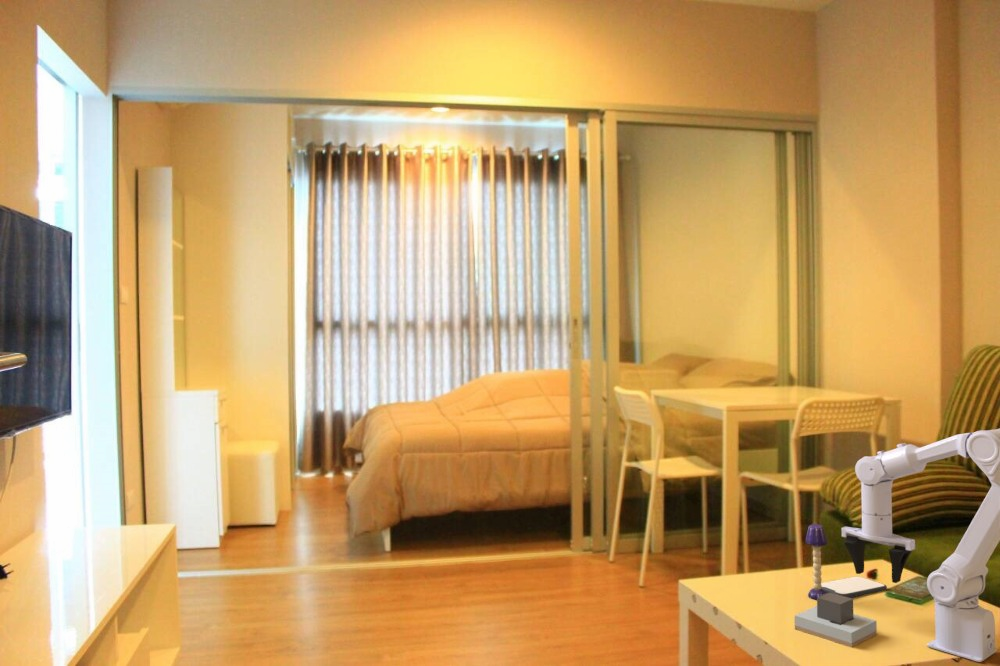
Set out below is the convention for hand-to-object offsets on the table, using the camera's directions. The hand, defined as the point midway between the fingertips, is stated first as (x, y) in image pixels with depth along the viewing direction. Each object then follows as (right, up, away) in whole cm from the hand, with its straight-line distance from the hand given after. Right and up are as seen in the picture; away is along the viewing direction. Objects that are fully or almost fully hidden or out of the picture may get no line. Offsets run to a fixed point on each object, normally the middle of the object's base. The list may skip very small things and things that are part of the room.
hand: (877, 577), depth 159 cm
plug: (-11, -8, -5) cm, 15 cm away
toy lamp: (-6, -10, +15) cm, 19 cm away
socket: (-11, -10, -5) cm, 16 cm away
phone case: (+4, -10, +20) cm, 23 cm away
